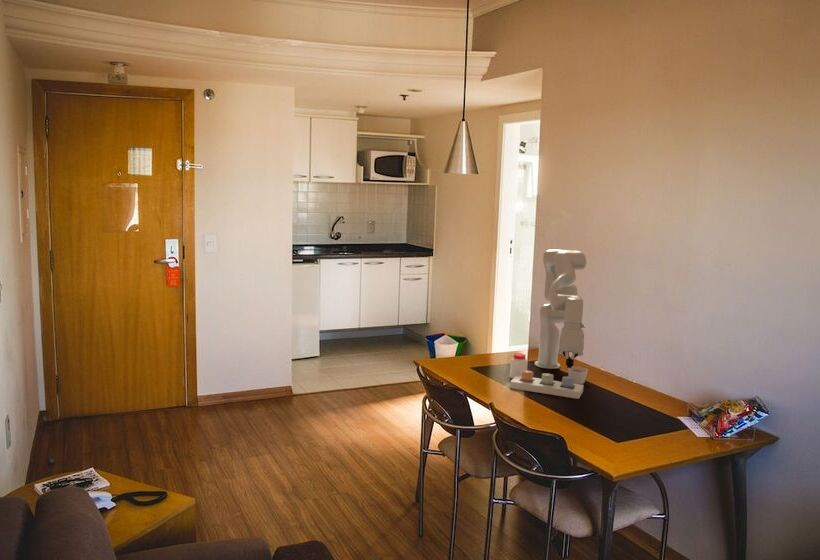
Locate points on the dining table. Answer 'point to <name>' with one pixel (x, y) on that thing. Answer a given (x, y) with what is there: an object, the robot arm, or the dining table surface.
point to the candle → (577, 374)
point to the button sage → (547, 379)
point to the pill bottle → (518, 365)
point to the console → (547, 387)
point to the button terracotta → (527, 376)
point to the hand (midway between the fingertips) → (569, 367)
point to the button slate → (567, 382)
